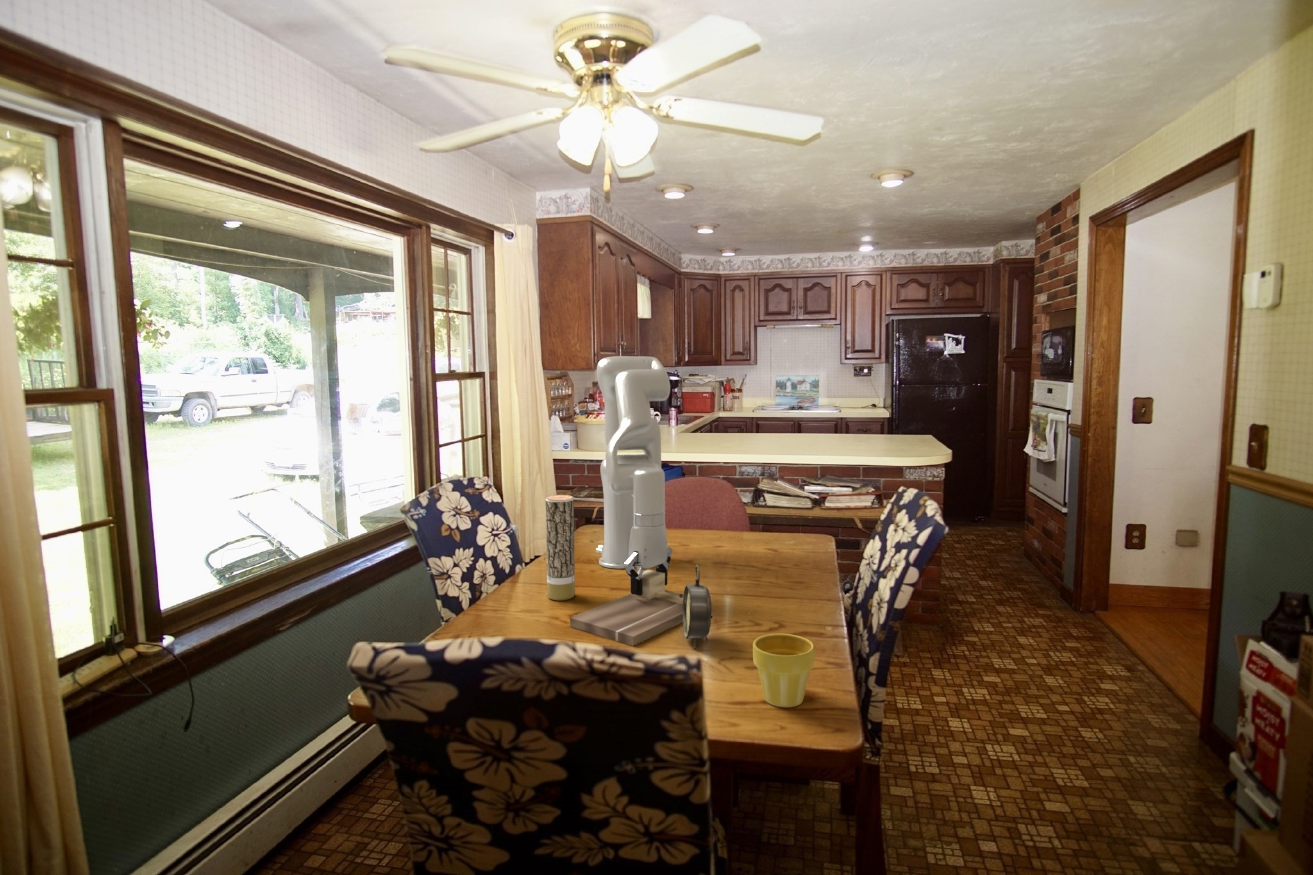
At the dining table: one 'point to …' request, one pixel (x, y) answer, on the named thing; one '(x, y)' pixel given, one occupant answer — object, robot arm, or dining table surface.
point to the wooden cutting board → (630, 618)
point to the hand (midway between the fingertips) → (649, 589)
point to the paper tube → (560, 547)
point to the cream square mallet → (657, 587)
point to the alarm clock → (696, 611)
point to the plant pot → (783, 667)
